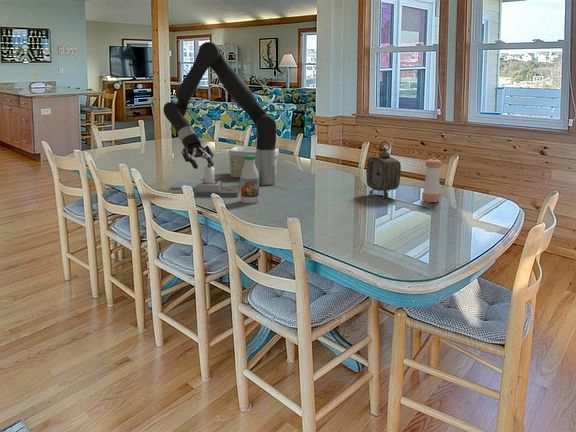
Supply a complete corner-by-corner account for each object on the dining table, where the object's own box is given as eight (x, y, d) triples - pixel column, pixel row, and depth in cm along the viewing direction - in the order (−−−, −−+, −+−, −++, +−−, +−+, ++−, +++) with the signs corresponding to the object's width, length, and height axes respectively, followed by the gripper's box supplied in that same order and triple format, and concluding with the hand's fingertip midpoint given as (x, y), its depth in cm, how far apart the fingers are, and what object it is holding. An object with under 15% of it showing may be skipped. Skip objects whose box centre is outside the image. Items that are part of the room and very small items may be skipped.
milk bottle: (237, 201, 234) (236, 154, 229) (252, 198, 238) (252, 153, 233) (247, 204, 228) (247, 157, 223) (262, 202, 233) (262, 155, 227)
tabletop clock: (365, 193, 252) (368, 139, 246) (382, 192, 256) (385, 138, 249) (382, 200, 240) (386, 143, 233) (400, 199, 243) (404, 142, 237)
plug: (216, 188, 249) (215, 163, 246) (214, 190, 244) (214, 165, 241) (204, 187, 249) (204, 162, 246) (203, 190, 244) (202, 164, 241)
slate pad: (205, 183, 267) (205, 181, 267) (201, 190, 254) (201, 187, 253) (177, 183, 267) (177, 181, 267) (171, 189, 254) (171, 187, 253)
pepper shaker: (436, 199, 245) (440, 156, 240) (441, 202, 238) (445, 159, 233) (420, 198, 244) (423, 156, 239) (424, 202, 237) (428, 158, 232)
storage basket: (279, 175, 293) (279, 147, 289) (273, 180, 277) (273, 151, 274) (236, 172, 297) (236, 145, 293) (227, 178, 282) (227, 149, 278)
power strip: (239, 191, 253) (239, 180, 251) (237, 197, 241) (237, 186, 240) (196, 190, 253) (196, 179, 251) (192, 196, 241) (191, 185, 240)
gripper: (179, 134, 244) (194, 163, 239) (205, 132, 253) (220, 160, 248) (172, 145, 249) (188, 173, 244) (198, 142, 258) (213, 170, 253)
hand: (204, 166), depth 246 cm, fingers open, 8 cm apart
